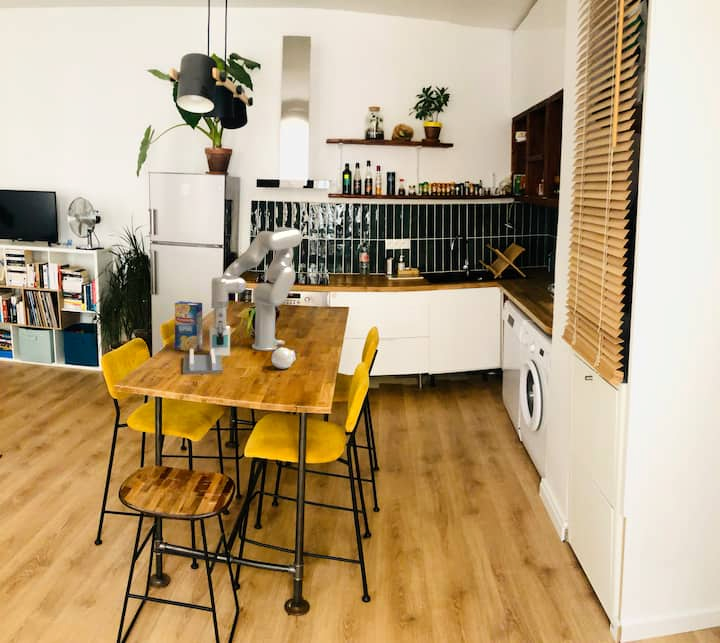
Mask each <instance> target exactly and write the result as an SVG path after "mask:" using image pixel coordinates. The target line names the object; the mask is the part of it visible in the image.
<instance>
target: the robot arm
mask: <svg viewBox="0 0 720 643" xmlns="http://www.w3.org/2000/svg"><path fill="white" fill-rule="evenodd" d="M302 241H303V234H302V232H301V231H300V230H299V229H297V228H293V227H286V226H279V227H277V228H276V229H275V230H274V231H269V230H263V231H259V232H258V233H257V235H256V236H255V237H254V239H253V240H252V241H251V243H250V245H249V246H248V247H247V249H246V250H245V252H244V254H242V255H241V256H239V257H238V258H237V259H235V260H234V261H233V262H232V263H231V264H230V265H229V266H228V267H227V268H226V269H225V271H224V273H222V276H221V277H219V276H217V277H213V278H212V279H211V309H213V312H214V313H213V314H214V316H213V317H214V318H213V319H214V320H213V321H214V326H215V328H216V330H217V336H216V344H217V345H223V344H224V336H223V329H225V330H226V326H227V309H228V308H229V294H241V293H243V292H245V290H246V289H247V282H246V281H245V279H244V278H242V277H240V276H241V275H242V274H243V273H244V272H247V271H248V270H250V269H251V270H252V269H253V268H256V267H258V266H259V265H260V264H261V262H262V261H263V260H264V258H265V256H266V255H267V253H268V252H269V251H275V255H274V256H273V259H272V261H271V262H270V264H269V266H268V268H267V271H266V275H265V277H266V279H267V281H269V282H270V283H267V282H262V283H259V284H257V285H256V286H255V288H254V290H253V300H254V306H255V308H254V309H255V321H254V322H255V323H254V324H255V325H254V326H255V327H254V334H255V335H254V343H253V344H251V348H252V349H253V350H256V351H266V352H268V351H275V350H277V349H278V348H279V345H285V340H282V339H276V307H279V306H281V305H283V303H285V301H286V299H287V298H288V296H289V293H290V292H291V289H292V288H293V285H294V283H295V281H296V275H297V274H296V271H295V269H294V268H293V267H291V264H292V261H293V258H294V250H293V248H295V247H298V246H300V244H301V243H302ZM271 283H273V284H271ZM218 328H219V330H218Z"/></svg>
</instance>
